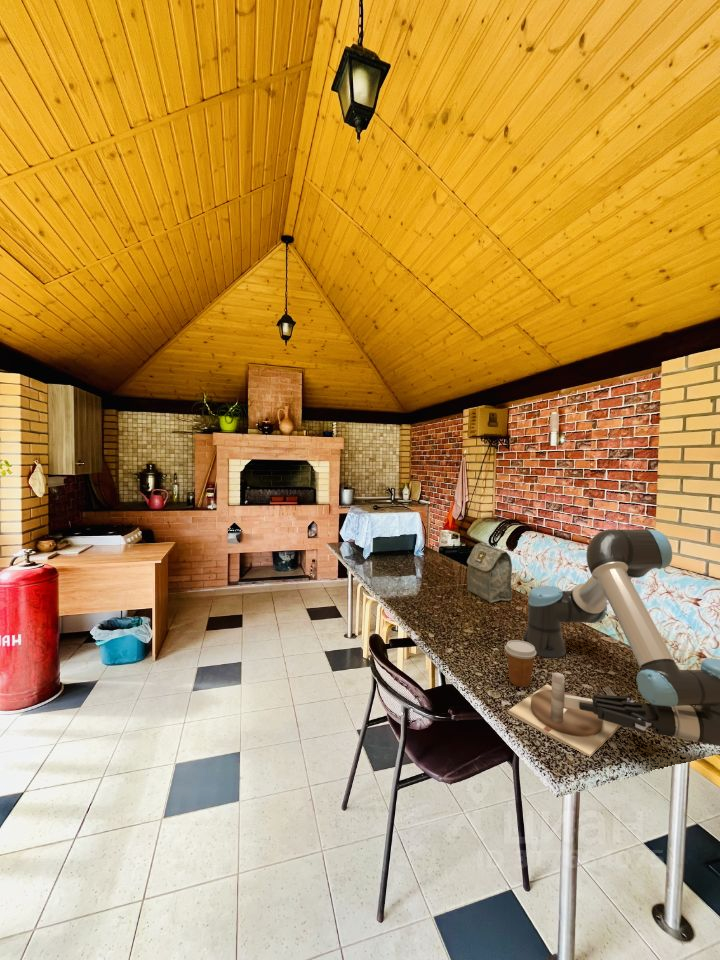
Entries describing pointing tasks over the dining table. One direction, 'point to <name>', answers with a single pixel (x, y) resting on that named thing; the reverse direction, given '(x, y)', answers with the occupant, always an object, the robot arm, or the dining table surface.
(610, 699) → the robot arm
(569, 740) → the dial base
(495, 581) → the bag
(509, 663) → the disposable coffee cup
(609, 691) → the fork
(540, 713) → the dial
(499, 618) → the dining table surface
